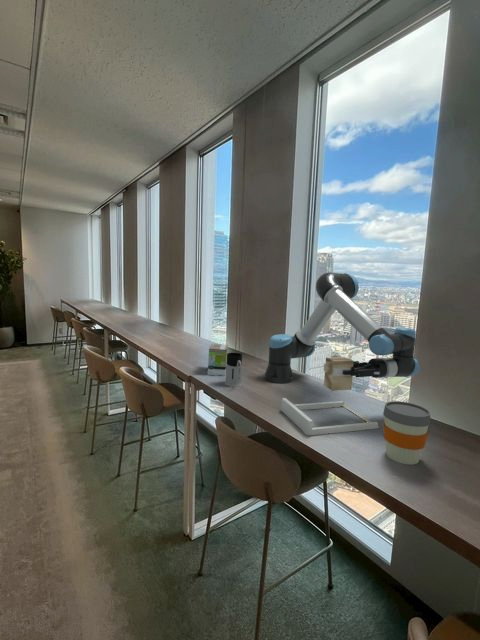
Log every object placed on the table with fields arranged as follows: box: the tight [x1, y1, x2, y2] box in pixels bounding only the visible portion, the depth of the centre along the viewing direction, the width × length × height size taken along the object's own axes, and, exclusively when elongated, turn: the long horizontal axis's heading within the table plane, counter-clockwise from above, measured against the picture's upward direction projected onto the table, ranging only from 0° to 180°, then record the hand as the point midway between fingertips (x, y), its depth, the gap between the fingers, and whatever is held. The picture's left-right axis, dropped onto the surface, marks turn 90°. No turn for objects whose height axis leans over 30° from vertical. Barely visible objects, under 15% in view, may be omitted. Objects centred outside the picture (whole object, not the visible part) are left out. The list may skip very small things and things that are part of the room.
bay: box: [280, 397, 381, 437], centre depth 123 cm, size 22×29×5 cm
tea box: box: [207, 343, 229, 377], centre depth 180 cm, size 15×10×15 cm
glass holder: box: [224, 352, 243, 388], centre depth 157 cm, size 9×14×15 cm, turn 18°
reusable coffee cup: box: [382, 400, 431, 466], centre depth 97 cm, size 13×13×15 cm
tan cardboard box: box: [323, 356, 355, 391], centre depth 122 cm, size 6×8×11 cm
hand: (329, 369), depth 121 cm, fingers closed on tan cardboard box, 6 cm apart
